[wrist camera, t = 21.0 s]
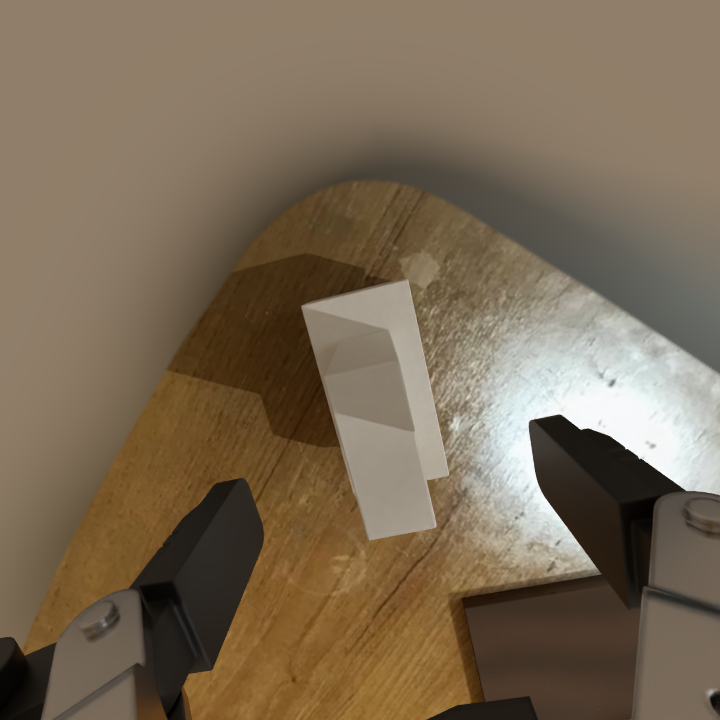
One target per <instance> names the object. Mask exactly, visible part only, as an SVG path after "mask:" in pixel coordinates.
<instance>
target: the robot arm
mask: <svg viewBox="0 0 720 720" xmlns="http://www.w3.org/2000/svg"><path fill="white" fill-rule="evenodd" d="M529 433H530V440H531V447H532V454H533V460H534V467H535V473H536V478H537V481H538V484H539V487H540V489H541V491H542V493H543V495H544V497H545V498H546V499H547V501H548V502H549V503H550V505H551V506H552V507H553V509H554V510H555V512H556V513H557V514H558V516H559V517H560V518H561V520H562V521H563V522H564V524H565V525H566V526H567V528H568V529H569V530H570V532H571V533H572V534H573V536H574V537H575V539H576V540H577V541H578V543H579V544H580V545H581V547H582V548H583V549H584V551H585V552H586V553H587V555H588V556H589V557H590V559H591V560H592V562H593V563H594V564H595V566H596V567H597V568H598V570H599V571H600V572H601V574H602V575H603V576H604V578H605V579H606V580H607V582H608V583H609V584H610V586H611V587H612V589H613V590H614V591H615V593H616V594H617V595H618V597H619V598H620V599H621V601H622V602H623V603H624V605H625V606H626V607H627V609H628V610H635V609H641V613H640V624H639V636H638V648H637V659H636V671H635V683H634V694H633V706H632V717H631V720H720V495H716V494H711V493H706V492H697V491H686V490H684V489H683V488H681V487H680V486H679V485H677V484H676V483H674V482H673V481H672V480H670V479H669V478H667V477H666V476H665V475H663V474H662V473H660V472H659V471H658V470H656V469H655V468H653V467H652V466H651V465H649V464H648V463H646V462H645V461H644V460H642V459H639V458H638V456H637V455H635V454H634V453H633V452H631V451H630V450H628V449H625V447H624V446H623V445H621V444H620V443H619V442H617V441H616V440H614V439H613V438H612V437H610V436H608V435H605V434H602V433H600V432H597V431H594V430H591V429H583V430H580V429H579V428H578V427H576V426H575V425H574V424H572V423H571V422H570V421H569V420H567V419H566V418H565V417H564V416H562V415H554V416H549V417H544V418H539V419H534V420H531V421H530V422H529ZM263 540H264V531H263V525H262V522H261V519H260V516H259V513H258V510H257V508H256V505H255V502H254V499H253V496H252V494H251V491H250V488H249V485H248V483H247V482H246V480H245V479H243V478H239V479H234V480H230V481H225V482H220V483H216V484H215V485H214V486H213V487H212V488H211V490H210V491H209V493H208V494H207V495H206V497H205V498H204V499H203V501H202V502H201V503H200V504H199V505H198V506H197V507H196V508H194V509H193V510H192V511H191V512H190V513H188V514H187V515H186V516H185V517H184V518H183V519H182V520H181V521H180V523H179V524H178V525H177V527H176V528H175V529H174V531H173V532H172V535H170V536H169V537H168V538H167V540H166V541H165V542H164V543H163V547H161V548H160V549H159V550H158V551H157V553H156V554H155V555H154V556H153V558H152V559H151V560H150V562H149V563H148V564H147V565H146V567H145V568H144V569H143V571H142V572H141V573H140V575H139V576H138V577H137V578H136V580H135V581H134V582H133V584H132V585H131V586H130V587H129V589H124V590H120V591H117V592H114V593H111V594H109V595H107V596H105V597H103V598H101V599H100V600H98V601H96V602H95V603H93V604H92V605H90V606H89V607H88V608H86V609H85V610H84V611H82V612H81V613H80V614H79V615H78V616H77V617H76V618H75V619H74V620H73V621H72V622H71V623H70V624H69V625H68V626H67V627H66V628H65V630H64V631H63V632H62V634H61V635H60V637H59V639H58V641H57V642H56V643H54V644H51V645H49V646H47V647H44V648H42V649H40V650H37V651H35V652H32V653H30V654H28V655H25V656H24V654H23V653H22V651H21V649H20V647H19V646H18V644H17V642H16V641H15V639H14V638H12V637H5V638H0V720H192V716H191V711H190V706H189V701H188V697H187V694H186V692H185V689H184V687H183V685H184V683H185V680H186V678H187V676H188V674H190V673H197V672H204V671H210V670H212V669H213V667H214V664H215V662H216V659H217V657H218V655H219V652H220V650H221V647H222V645H223V642H224V640H225V637H226V635H227V632H228V630H229V628H230V625H231V623H232V620H233V618H234V615H235V613H236V610H237V608H238V605H239V603H240V601H241V598H242V596H243V593H244V591H245V588H246V586H247V583H248V581H249V578H250V576H251V574H252V571H253V569H254V566H255V564H256V561H257V559H258V556H259V554H260V551H261V549H262V546H263ZM427 720H538V718H537V715H536V712H535V710H534V707H533V704H532V701H531V699H530V696H526V697H518V698H511V699H503V700H495V701H487V702H480V703H472V704H464V705H457V706H455V707H453V708H450V709H448V710H446V711H444V712H442V713H440V714H438V715H436V716H433V717H431V718H429V719H427Z"/></svg>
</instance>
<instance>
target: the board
mask: <svg viewBox="0 0 720 720" xmlns="http://www.w3.org/2000/svg"><path fill="white" fill-rule="evenodd" d="M462 601H463V605H464V610H465V614H466V619H467V623H468V628H469V633H470V637H471V642H472V646H473V651H474V655H475V660H476V664H477V669H478V674H479V678H480V683H481V687H482V692H483V696H484V701H485V702H487V701H495V700H503V699H511V698H518V697H526V696H530V699H531V701H532V704H533V707H534V710H535V712H536V715H537V718H538V720H630V719H631V717H632V706H633V694H634V683H635V671H636V659H637V648H638V636H639V624H640V613H641V609H635V610H628V609H627V607H626V606H625V605H624V603H623V602H622V601H621V599H620V598H619V597H618V595H617V594H616V593H615V591H614V590H613V589H612V587H611V586H610V584H609V583H608V582H607V580H606V579H605V578H604V576H603V575H599V576H593V577H588V578H582V579H576V580H570V581H564V582H558V583H552V584H546V585H540V586H534V587H528V588H522V589H516V590H510V591H504V592H498V593H493V594H487V595H481V596H475V597H469V598H463V599H462Z"/></svg>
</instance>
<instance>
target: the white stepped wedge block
mask: <svg viewBox="0 0 720 720" xmlns="http://www.w3.org/2000/svg"><path fill="white" fill-rule="evenodd" d="M301 308H302V312H303V315H304V319H305V323H306V326H307V330H308V333H309V337H310V340H311V344H312V348H313V351H314V355H315V358H316V362H317V365H318V369H319V373H320V376H321V380H322V383H323V387H324V390H325V394H326V397H327V401H328V405H329V408H330V412H331V415H332V419H333V422H334V426H335V430H336V433H337V437H338V440H339V444H340V447H341V451H342V455H343V458H344V462H345V465H346V469H347V472H348V476H349V480H350V483H351V487H352V490H353V494H354V495H356V499H357V503H358V506H359V510H360V513H361V517H362V520H363V524H364V528H365V531H366V535H367V538H368V540H374V539H379V538H385V537H390V536H395V535H401V534H406V533H411V532H417V531H422V530H427V529H433V528H436V520H435V516H434V511H433V507H432V503H431V498H430V494H429V489H428V485H427V481H426V480H431V479H436V478H441V477H446V476H449V471H448V466H447V462H446V457H445V452H444V447H443V443H442V438H441V433H440V428H439V424H438V419H437V414H436V409H435V405H434V400H433V395H432V390H431V386H430V381H429V376H428V371H427V367H426V362H425V357H424V352H423V348H422V343H421V338H420V334H419V329H418V324H417V319H416V315H415V310H414V305H413V300H412V296H411V291H410V286H409V281H408V279H399V280H395V281H391V282H387V283H383V284H379V285H375V286H371V287H367V288H363V289H359V290H355V291H351V292H347V293H343V294H339V295H334V296H330V297H326V298H322V299H318V300H314V301H310V302H308V303H306V304H304V305H302V306H301Z"/></svg>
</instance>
